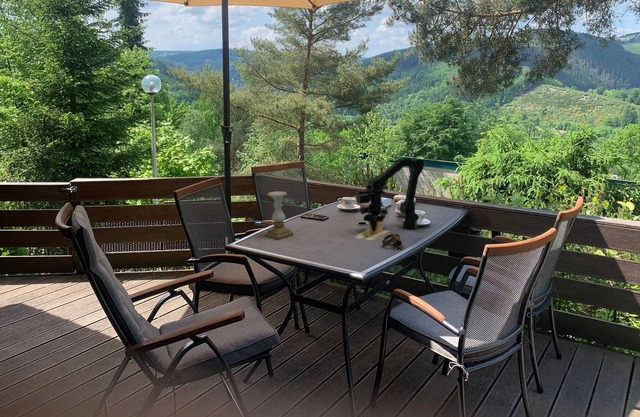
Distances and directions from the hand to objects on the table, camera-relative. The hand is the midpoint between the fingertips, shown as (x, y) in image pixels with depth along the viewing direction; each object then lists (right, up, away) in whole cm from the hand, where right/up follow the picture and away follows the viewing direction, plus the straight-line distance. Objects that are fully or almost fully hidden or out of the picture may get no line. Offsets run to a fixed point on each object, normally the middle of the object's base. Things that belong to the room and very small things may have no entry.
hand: (376, 230), depth 262 cm
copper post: (-5, -3, -8) cm, 10 cm away
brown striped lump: (+6, -8, -24) cm, 26 cm away
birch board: (-3, -3, -4) cm, 5 cm away
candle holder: (-52, -3, +1) cm, 53 cm away
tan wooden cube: (0, -1, 0) cm, 1 cm away
